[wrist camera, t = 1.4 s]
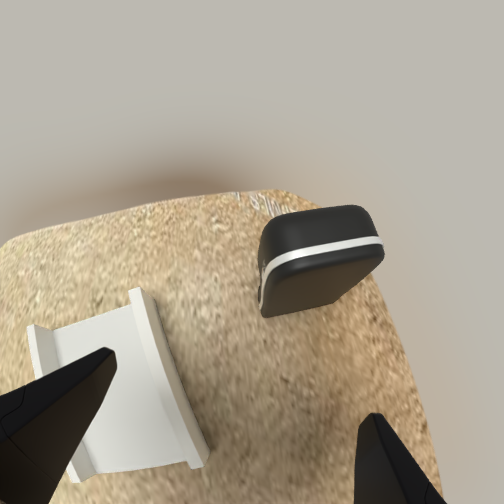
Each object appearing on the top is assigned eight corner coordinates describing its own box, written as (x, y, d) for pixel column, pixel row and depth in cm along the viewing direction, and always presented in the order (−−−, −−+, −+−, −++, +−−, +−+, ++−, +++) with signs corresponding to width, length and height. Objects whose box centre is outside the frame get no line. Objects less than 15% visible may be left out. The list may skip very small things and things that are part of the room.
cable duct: (210, 451, 19) (204, 466, 15) (93, 471, 17) (72, 482, 13) (154, 299, 24) (139, 286, 20) (51, 334, 22) (26, 326, 18)
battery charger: (325, 263, 26) (374, 190, 15) (336, 303, 24) (399, 250, 14) (250, 277, 25) (255, 205, 14) (259, 320, 23) (272, 276, 13)
